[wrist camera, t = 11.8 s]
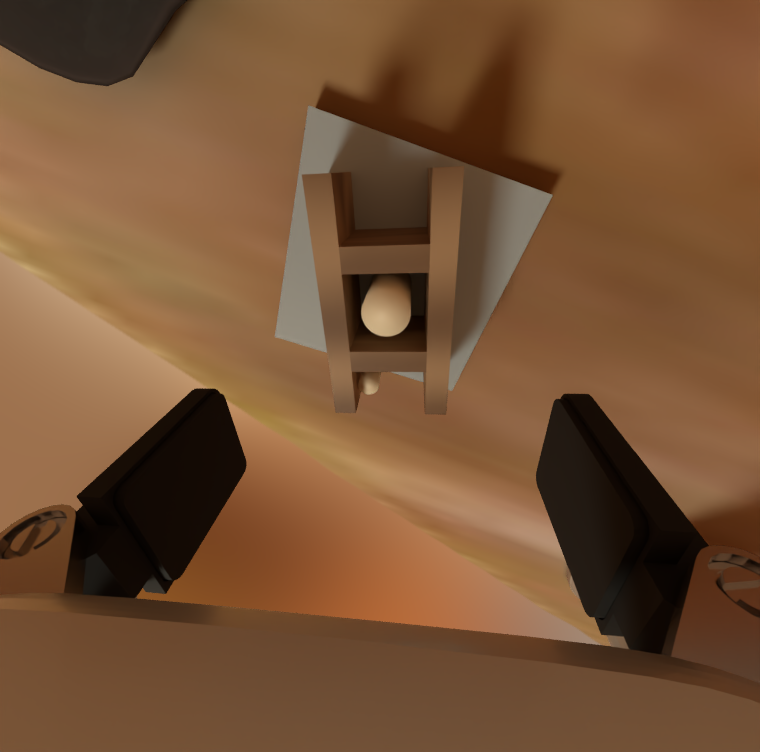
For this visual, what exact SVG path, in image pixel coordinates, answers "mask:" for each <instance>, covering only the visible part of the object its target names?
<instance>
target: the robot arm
mask: <svg viewBox="0 0 760 752" xmlns="http://www.w3.org/2000/svg"><path fill="white" fill-rule="evenodd" d="M245 469H246V459H245V456H244V453H243V450H242V447H241V444H240V441H239V438H238V435H237V432H236V429H235V426H234V423H233V420H232V417H231V414H230V411H229V408H228V406H227V402H226V399H225V397H224V395H223V394H220V393H219V391H218V390H216V389H194V390H192V391H191V392H190V393H189V394H188V395H187V396H186V397H185V398H183V399H182V400H181V401H180V402H179V403H178V404H177V405H176V406H175V407H174V408H173V409H171V410H170V411H169V412H168V413H167V414H166V415H165V416H164V417H163V418H162V419H161V420H159V421H158V422H157V423H156V424H155V425H154V426H153V427H152V428H151V429H150V430H148V431H147V432H146V433H145V434H144V435H143V436H142V437H141V438H140V439H139V440H138V441H137V442H135V443H134V444H133V445H132V446H131V447H130V448H129V449H128V450H127V451H126V452H124V453H123V454H122V455H121V456H120V457H119V458H118V459H117V460H116V461H115V462H114V463H112V464H111V465H110V466H109V467H108V468H107V469H106V470H105V471H104V472H103V473H102V474H100V475H99V476H98V477H97V478H96V479H95V480H94V481H93V482H92V483H90V484H89V485H88V486H87V487H86V488H85V489H84V490H83V491H82V492H81V493H79V494H78V495H77V498H78V499H79V501H80V502H81V503H82V505H83V506H82V507H81V508H80V509H79V510H78V511H77V512H76V511H75V509H74V508H72V507H71V506H69V505H63V504H61V505H53V506H49V507H46V508H42V509H39V510H37V511H35V512H33V513H30V514H28V515H26V516H24V517H23V518H21V519H19V520H18V521H16V522H14V523H13V524H11V525H10V526H9V527H7V528H6V529H5V530H4V531H2V532H1V533H0V752H760V557H759V556H757V555H755V554H752V553H750V552H747V551H744V550H742V549H739V548H734V547H730V546H725V545H710V546H709V545H708V544H707V543H706V542H705V540H704V539H703V538H702V537H701V535H700V534H699V533H698V531H697V530H696V529H695V528H694V526H693V525H692V524H691V523H690V521H689V520H688V519H687V517H686V516H685V515H684V514H683V512H682V511H681V510H680V508H679V507H678V506H677V505H676V503H675V502H674V501H673V500H672V498H671V497H670V496H669V494H668V493H667V492H666V491H665V489H664V488H663V487H662V486H661V484H660V483H659V482H658V480H657V479H656V478H655V477H654V475H653V474H652V473H651V472H650V470H649V469H648V468H647V466H646V465H645V464H644V463H643V461H642V460H641V459H640V457H639V456H638V455H637V454H636V452H635V451H634V450H633V449H632V448H631V446H630V445H629V444H628V443H627V441H626V440H625V439H624V437H623V436H622V435H621V434H620V432H619V431H618V430H617V429H616V427H615V426H614V425H613V423H612V422H611V421H610V420H609V418H608V417H607V416H606V414H605V413H604V412H603V411H602V409H601V408H600V407H599V406H598V404H597V403H596V402H595V400H594V399H593V398H592V397H591V396H590V395H589V394H564V395H563V396H562V397H561V399H556V400H555V401H554V403H553V407H552V411H551V415H550V419H549V423H548V427H547V431H546V435H545V439H544V443H543V448H542V452H541V456H540V460H539V464H538V468H537V472H536V481H537V486H538V489H539V491H540V494H541V496H542V499H543V502H544V504H545V507H546V510H547V512H548V515H549V518H550V520H551V523H552V526H553V528H554V531H555V534H556V536H557V539H558V542H559V544H560V547H561V549H562V552H563V555H564V557H565V560H566V563H567V565H568V570H567V579H568V583H569V585H570V588H571V590H572V592H573V593H574V594H575V595H576V596H577V597H578V598H579V599H580V600H581V602H582V605H583V608H584V610H585V612H586V613H587V615H588V616H589V617H595V620H596V622H597V625H598V627H599V630H600V633H601V635H607V637H608V640H609V642H610V645H611V646H602V645H593V644H586V643H577V642H569V641H561V640H552V639H544V638H536V637H527V636H518V635H508V634H498V633H489V632H478V631H469V630H459V629H449V628H439V627H429V626H420V625H410V624H401V623H390V622H381V621H370V620H360V619H350V618H339V617H328V616H319V615H308V614H298V613H288V612H277V611H267V610H256V609H246V608H235V607H224V606H213V605H202V604H191V603H180V602H169V601H158V600H157V601H156V600H147V599H137V595H138V594H139V592H140V591H141V589H142V588H144V590H145V591H146V592H152V593H162V594H166V593H167V591H168V590H169V588H170V586H171V585H172V583H173V581H174V580H176V579H178V578H179V577H181V575H182V574H183V573H184V571H185V569H186V568H187V566H188V564H189V563H190V561H191V559H192V558H193V556H194V554H195V553H196V551H197V549H198V548H199V546H200V545H201V543H202V541H203V540H204V538H205V536H206V535H207V533H208V531H209V530H210V528H211V526H212V525H213V523H214V522H215V520H216V518H217V516H218V515H219V513H220V512H221V510H222V508H223V507H224V505H225V504H226V502H227V500H228V499H229V497H230V495H231V494H232V492H233V490H234V489H235V487H236V485H237V484H238V482H239V481H240V479H241V477H242V476H243V474H244V472H245Z"/></svg>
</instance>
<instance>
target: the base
mask: <svg viewBox="0 0 760 752" xmlns="http://www.w3.org/2000/svg"><path fill="white" fill-rule="evenodd" d="M453 166H464V178H463V192H462V206H461V219H460V233H459V247H458V261H457V274H456V288H455V302H454V315H453V329H452V343H451V356H450V370H449V384H448V390H451V391H452V390H453V388H454V386H455V384H456V382H457V380H458V378H459V376H460V374H461V372H462V370H463V369H464V367H465V365H466V363H467V361H468V359H469V357H470V355H471V353H472V351H473V349H474V347H475V345H476V343H477V341H478V339H479V337H480V336H481V334H482V332H483V330H484V328H485V326H486V324H487V322H488V320H489V318H490V316H491V314H492V312H493V310H494V308H495V306H496V304H497V303H498V301H499V299H500V297H501V295H502V293H503V291H504V289H505V287H506V285H507V283H508V281H509V279H510V277H511V275H512V273H513V271H514V270H515V268H516V266H517V264H518V262H519V260H520V258H521V256H522V254H523V252H524V250H525V248H526V246H527V244H528V242H529V240H530V238H531V236H532V235H533V233H534V231H535V229H536V227H537V225H538V223H539V221H540V219H541V217H542V215H543V213H544V211H545V209H546V207H547V205H548V203H549V202H550V200H551V198H552V196H553V195H551V194H549V193H546V192H543V191H540V190H538V189H535V188H532V187H530V186H527V185H524V184H521V183H519V182H516V181H513V180H510V179H508V178H505V177H502V176H500V175H497V174H494V173H491V172H489V171H486V170H483V169H480V168H478V167H475V166H472V165H470V164H467V163H464V162H461V161H459V160H456V159H453V158H450V157H448V156H445V155H442V154H440V153H437V152H434V151H431V150H429V149H426V148H423V147H420V146H418V145H415V144H412V143H410V142H407V141H404V140H401V139H399V138H396V137H393V136H390V135H388V134H385V133H382V132H380V131H377V130H374V129H371V128H369V127H366V126H363V125H360V124H358V123H355V122H352V121H350V120H347V119H344V118H341V117H339V116H336V115H333V114H330V113H328V112H325V111H322V110H319V109H317V108H314V107H311V106H309V105H308V112H307V119H306V126H305V133H304V140H303V147H302V154H301V161H300V167H299V174H298V181H297V188H296V195H295V202H294V209H293V216H292V223H291V229H290V236H289V243H288V250H287V257H286V264H285V271H284V278H283V285H282V291H281V298H280V305H279V312H278V319H277V326H276V333H275V337H277V338H281V339H284V340H287V341H290V342H294V343H297V344H300V345H303V346H307V347H310V348H313V349H317V350H320V351H323V352H326V353H327V349H326V342H325V335H324V328H323V321H322V314H321V307H320V300H319V293H318V286H317V279H316V272H315V265H314V258H313V251H312V244H311V237H310V230H309V223H308V216H307V209H306V202H305V195H304V188H303V181H302V174H320V173H339V172H351V179H352V192H353V205H354V218H355V230H358V229H386V228H414V227H427V191H428V168H434V167H453ZM359 283H360V296H361V316H362V320H363V322H364V324H365V326H366V327H367V328H368V329H369V330H370V331H371V332H373V333H374V334H377V335H379V336H394V335H397V334H399V333H400V332H402V331H403V330H404V329H405V328H406V327H407V325H408V323H409V321H410V317H411V316H424V310H425V273H388V274H359ZM392 373H395V374H398V375H402V376H405V377H408V378H411V379H415V380H418V381H421V382H424V381H423V372H392ZM380 375H381V372H361V376H360V380H359V384H358V387H359V389H360V391H361V392H363V393H365V394H373V393H375V392H376V391H377V390H378V388H379V382H380Z"/></svg>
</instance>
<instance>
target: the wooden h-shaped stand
mask: <svg viewBox="0 0 760 752" xmlns="http://www.w3.org/2000/svg"><path fill="white" fill-rule="evenodd" d="M463 178H464V166H453V167H434V168H428V191H427V227H414V228H386V229H358V230H355V218H354V205H353V192H352V179H351V172H339V173H320V174H302V181H303V188H304V195H305V202H306V209H307V216H308V223H309V230H310V237H311V244H312V251H313V258H314V265H315V272H316V279H317V286H318V293H319V300H320V307H321V314H322V321H323V328H324V335H325V342H326V349H327V356H328V363H329V370H330V377H331V384H332V391H333V398H334V405H335V412H336V413H356V410H357V406H358V402H359V398H360V393H361V391H360V389H359V387H358V384H359V380H360V376H361V372H423V381H424V404H425V414H444V415H446V411H447V397H448V384H449V370H450V356H451V343H452V329H453V315H454V302H455V288H456V274H457V261H458V247H459V233H460V219H461V206H462V192H463ZM388 273H425V310H424V316H411V317H410V321H409V323H408V325H407V327H406V328H405V329H404V330H403V331H402V332H400V333H399V334H397V335H394V336H379V335H377V334H374V333H373V332H371V331H370V330H369V329H368V328H367V327H366V326H365V324H364V322H363V320H362V316H361V296H360V283H359V274H388Z"/></svg>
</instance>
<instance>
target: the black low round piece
mask: <svg viewBox="0 0 760 752" xmlns="http://www.w3.org/2000/svg"><path fill="white" fill-rule="evenodd" d="M186 1H187V0H0V45H1V46H3V47H5V48H6V49H8V50H10V51H12V52H13V53H15V54H17V55H18V56H20V57H22V58H23V59H25V60H27V61H29V62H30V63H32V64H34V65H35V66H37V67H39V68H41V69H44V70H46V71H49V72H51V73H54V74H57V75H59V76H62V77H64V78H67V79H70V80H72V81H75V82H79V83H87V84H95V85H103V86H109V85H112V84H115V83H117V82H120V81H122V80H125V79H127V78H130V77H133V76H134V74H135V72H136V71H137V69H138V68H139V66H140V65H141V63H142V62H143V60H144V59H145V57H146V55H147V54H148V52H149V51H150V49H151V48H152V46H153V45H154V43H155V42H156V40H157V38H158V37H159V35H160V34H161V32H162V31H163V29H164V28H165V26H166V25H167V23H168V21H169V20H170V18H171V17H172V15H173V14H174V12H175V11H176V10H177V9H178V8H179V7H180V6H181V5H182V4H183V3H185V2H186Z"/></svg>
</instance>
